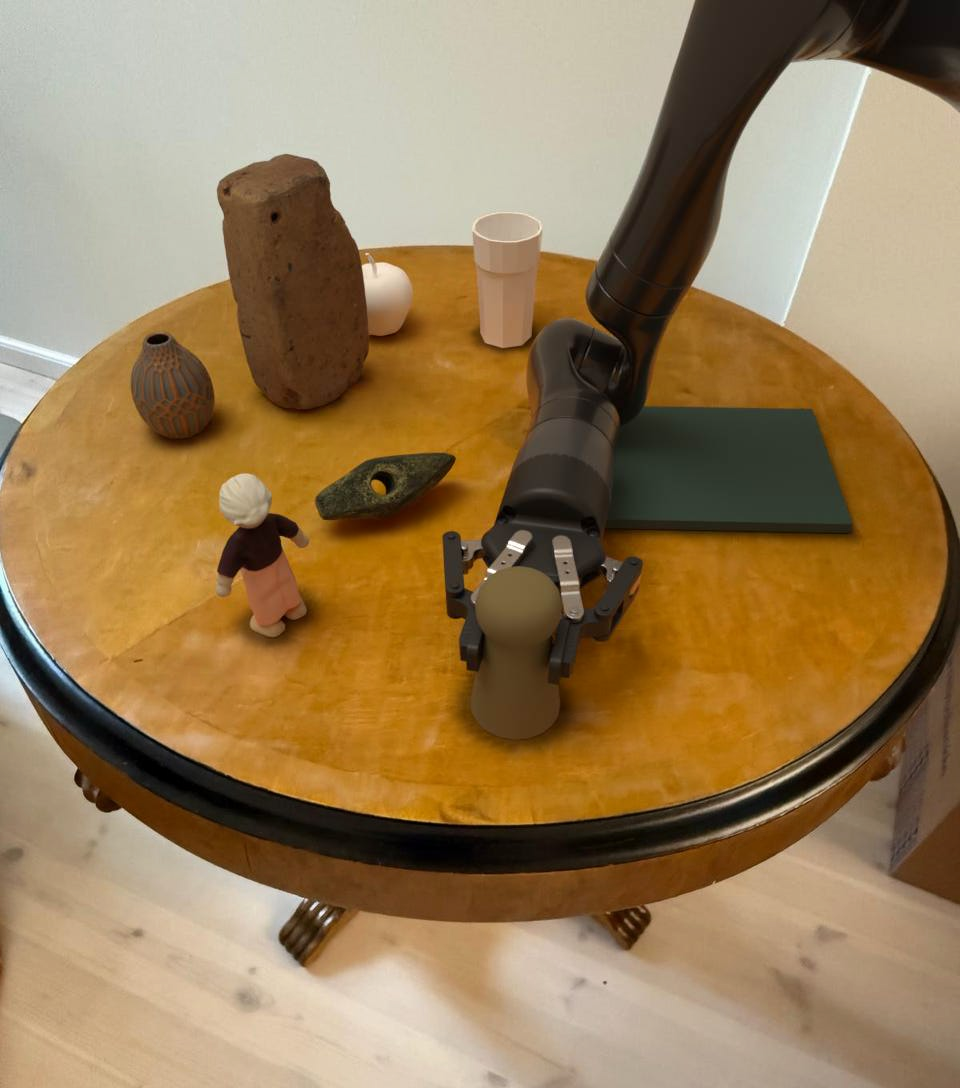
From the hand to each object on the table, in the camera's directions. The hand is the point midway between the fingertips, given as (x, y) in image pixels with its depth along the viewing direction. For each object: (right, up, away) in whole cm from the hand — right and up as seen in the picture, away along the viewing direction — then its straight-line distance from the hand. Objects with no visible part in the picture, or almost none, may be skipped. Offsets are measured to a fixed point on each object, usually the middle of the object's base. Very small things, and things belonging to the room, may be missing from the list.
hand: (513, 668), depth 56 cm
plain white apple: (-12, +34, +40) cm, 54 cm away
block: (-18, +26, +33) cm, 46 cm away
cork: (0, -3, +7) cm, 7 cm away
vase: (-29, +21, +29) cm, 46 cm away
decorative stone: (-10, +12, +21) cm, 26 cm away
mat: (+18, +16, +24) cm, 34 cm away
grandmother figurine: (-17, +3, +12) cm, 21 cm away
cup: (+1, +33, +39) cm, 51 cm away
